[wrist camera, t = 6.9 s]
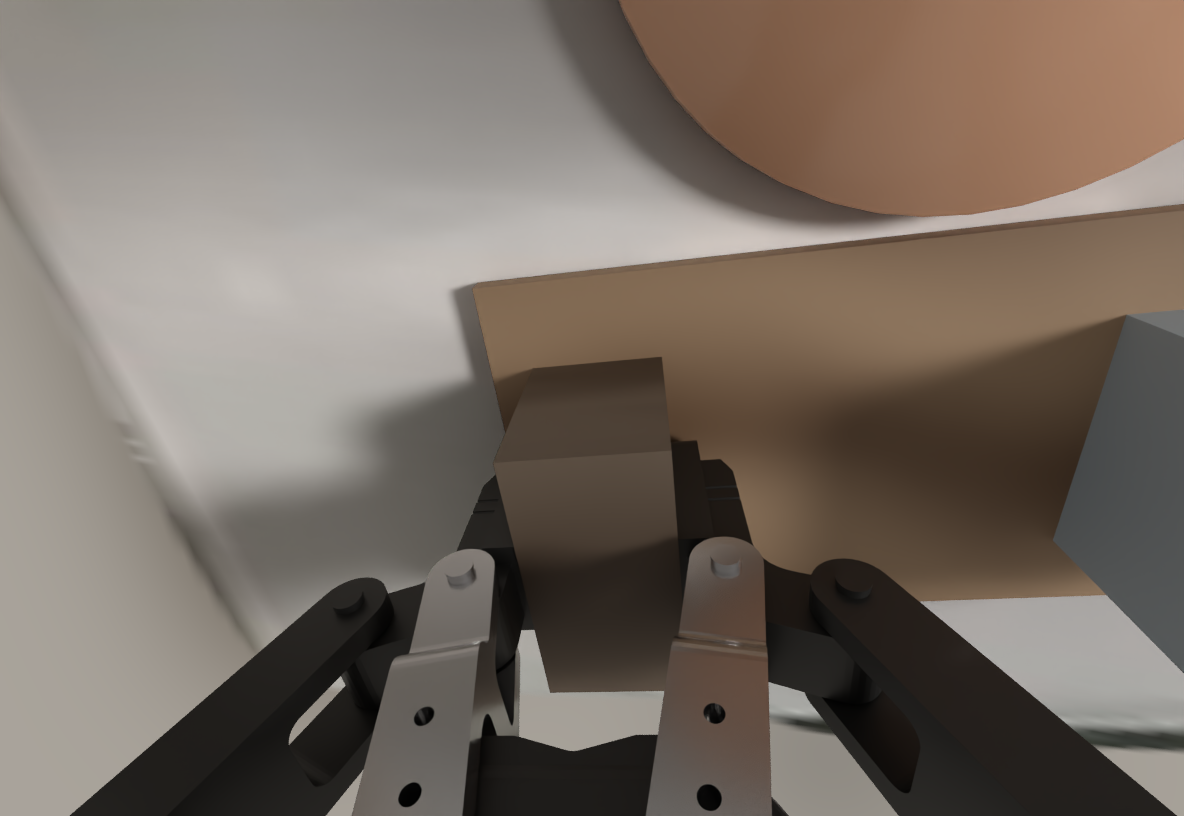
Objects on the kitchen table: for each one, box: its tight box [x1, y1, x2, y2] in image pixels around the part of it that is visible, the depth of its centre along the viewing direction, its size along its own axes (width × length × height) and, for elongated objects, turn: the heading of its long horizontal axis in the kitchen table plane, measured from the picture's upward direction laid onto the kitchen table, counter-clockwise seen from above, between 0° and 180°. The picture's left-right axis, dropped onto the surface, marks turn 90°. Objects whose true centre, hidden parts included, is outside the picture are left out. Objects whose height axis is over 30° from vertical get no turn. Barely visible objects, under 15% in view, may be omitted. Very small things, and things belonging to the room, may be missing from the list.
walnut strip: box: [472, 204, 1184, 693], centre depth 11 cm, size 10×22×4 cm, turn 97°
